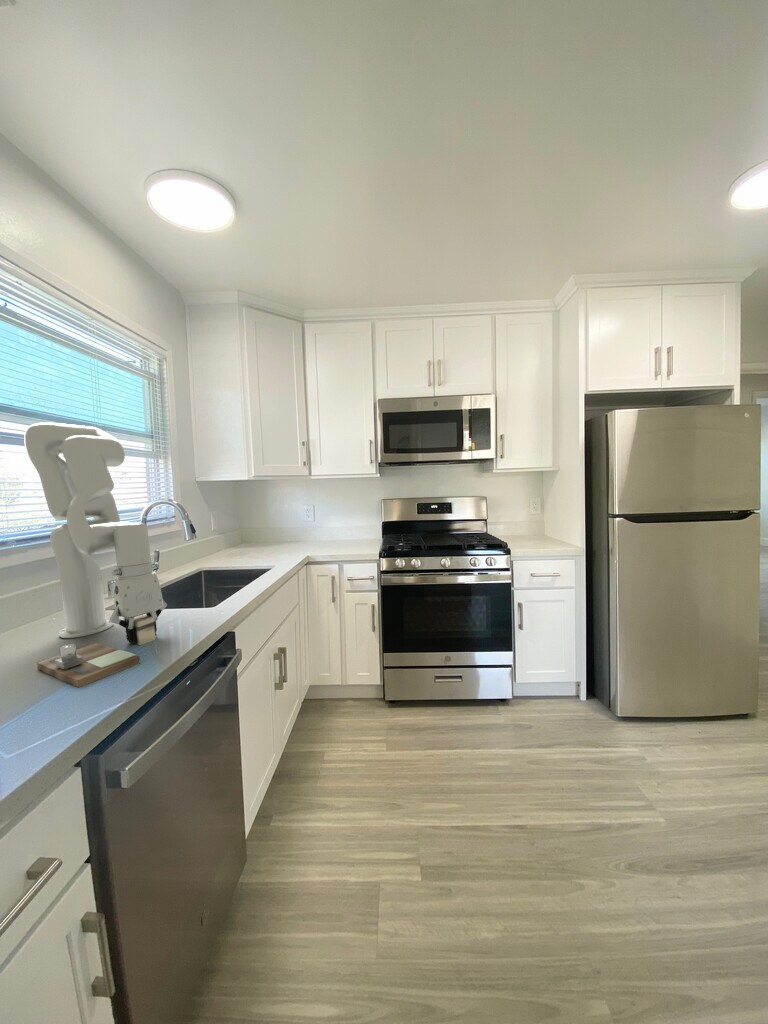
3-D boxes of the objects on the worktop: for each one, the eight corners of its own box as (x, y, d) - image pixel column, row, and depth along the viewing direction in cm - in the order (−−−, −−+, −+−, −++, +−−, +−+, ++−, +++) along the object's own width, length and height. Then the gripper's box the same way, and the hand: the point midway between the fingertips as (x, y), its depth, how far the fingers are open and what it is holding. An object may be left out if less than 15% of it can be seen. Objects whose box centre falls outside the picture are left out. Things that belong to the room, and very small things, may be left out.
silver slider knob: (56, 666, 87) (53, 647, 86) (75, 659, 90) (73, 641, 89) (64, 669, 85) (61, 651, 84) (83, 662, 88) (81, 644, 87)
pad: (86, 662, 89) (86, 661, 89) (120, 650, 95) (119, 649, 95) (101, 668, 85) (101, 667, 85) (135, 655, 91) (135, 654, 91)
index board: (37, 669, 90) (36, 662, 90) (97, 648, 101) (96, 642, 101) (78, 687, 80) (77, 680, 80) (139, 662, 90) (139, 655, 90)
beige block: (129, 642, 104) (126, 619, 103) (145, 636, 107) (143, 614, 107) (139, 645, 101) (137, 622, 101) (156, 639, 105) (153, 617, 104)
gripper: (106, 579, 94) (115, 654, 95) (174, 564, 108) (181, 630, 110) (91, 577, 98) (99, 649, 99) (159, 563, 112) (165, 626, 113)
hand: (142, 638), depth 104 cm, fingers closed on beige block, 4 cm apart
